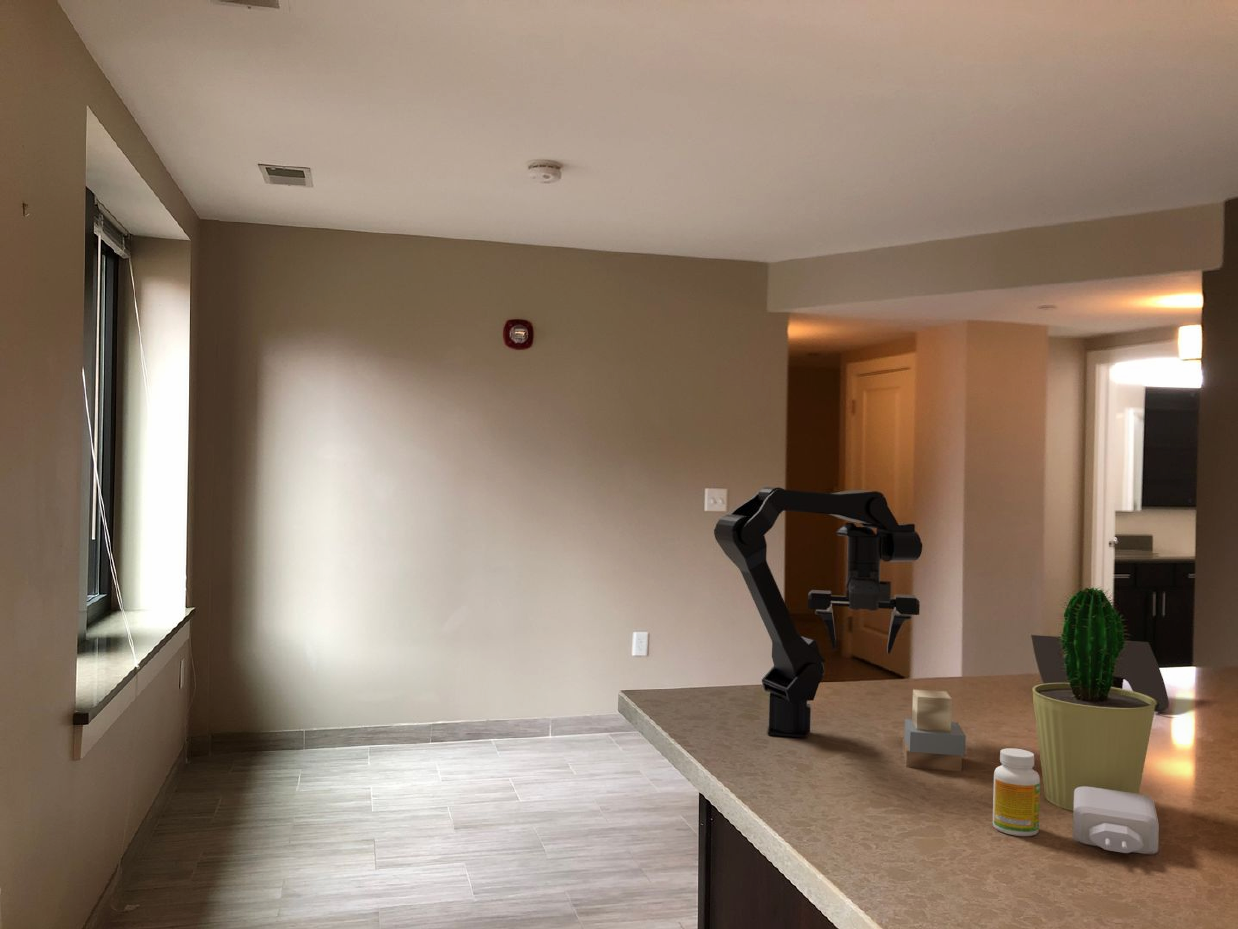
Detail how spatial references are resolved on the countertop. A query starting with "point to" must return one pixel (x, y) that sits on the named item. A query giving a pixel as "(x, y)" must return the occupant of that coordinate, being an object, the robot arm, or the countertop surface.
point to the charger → (1115, 820)
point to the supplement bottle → (1016, 794)
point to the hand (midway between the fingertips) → (861, 651)
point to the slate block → (935, 740)
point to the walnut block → (931, 760)
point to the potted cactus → (1091, 708)
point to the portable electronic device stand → (1135, 669)
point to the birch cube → (931, 710)
